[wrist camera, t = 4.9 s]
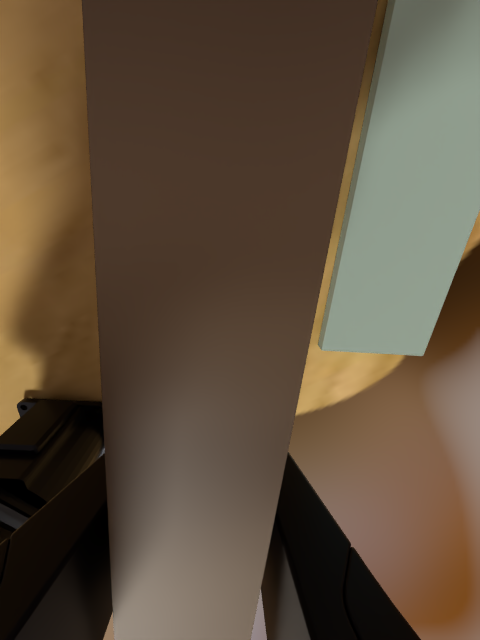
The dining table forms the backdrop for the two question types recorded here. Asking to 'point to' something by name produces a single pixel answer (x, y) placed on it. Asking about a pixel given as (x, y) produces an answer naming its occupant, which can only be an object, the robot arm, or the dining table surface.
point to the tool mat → (410, 182)
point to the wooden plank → (209, 280)
